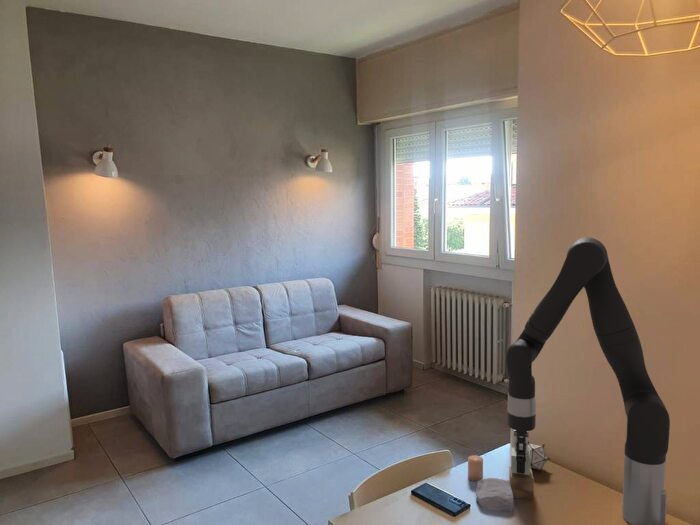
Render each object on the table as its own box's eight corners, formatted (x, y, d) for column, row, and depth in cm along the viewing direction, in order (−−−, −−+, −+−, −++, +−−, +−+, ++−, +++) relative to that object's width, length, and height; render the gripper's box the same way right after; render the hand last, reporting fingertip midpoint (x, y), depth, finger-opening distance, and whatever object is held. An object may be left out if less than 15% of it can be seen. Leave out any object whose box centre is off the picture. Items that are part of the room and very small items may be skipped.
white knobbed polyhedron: (539, 478, 166) (559, 454, 165) (533, 481, 159) (554, 455, 158) (516, 457, 171) (535, 433, 170) (509, 458, 164) (529, 433, 163)
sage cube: (529, 466, 153) (529, 449, 152) (529, 474, 148) (530, 457, 147) (511, 463, 154) (511, 447, 154) (511, 472, 150) (511, 455, 149)
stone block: (479, 516, 145) (517, 511, 143) (476, 499, 144) (513, 494, 143) (476, 493, 156) (511, 489, 155) (473, 478, 156) (508, 473, 154)
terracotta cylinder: (483, 475, 162) (483, 456, 161) (482, 482, 158) (482, 463, 157) (468, 473, 163) (468, 454, 163) (467, 480, 159) (467, 461, 159)
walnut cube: (530, 487, 154) (531, 468, 154) (533, 499, 149) (533, 479, 148) (509, 486, 156) (509, 466, 155) (511, 497, 150) (511, 477, 149)
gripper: (536, 422, 141) (535, 482, 143) (535, 402, 155) (534, 457, 157) (506, 419, 143) (506, 478, 145) (508, 399, 157) (507, 454, 159)
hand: (520, 467), depth 151 cm, fingers closed on sage cube, 5 cm apart
